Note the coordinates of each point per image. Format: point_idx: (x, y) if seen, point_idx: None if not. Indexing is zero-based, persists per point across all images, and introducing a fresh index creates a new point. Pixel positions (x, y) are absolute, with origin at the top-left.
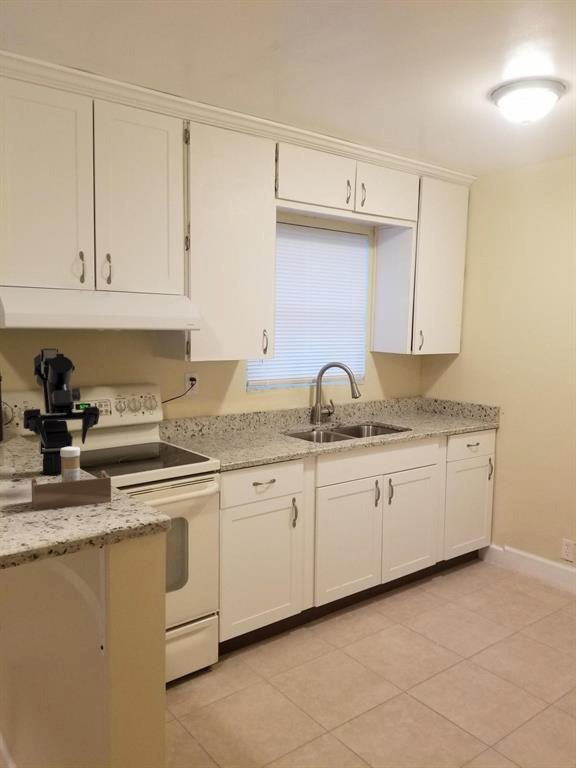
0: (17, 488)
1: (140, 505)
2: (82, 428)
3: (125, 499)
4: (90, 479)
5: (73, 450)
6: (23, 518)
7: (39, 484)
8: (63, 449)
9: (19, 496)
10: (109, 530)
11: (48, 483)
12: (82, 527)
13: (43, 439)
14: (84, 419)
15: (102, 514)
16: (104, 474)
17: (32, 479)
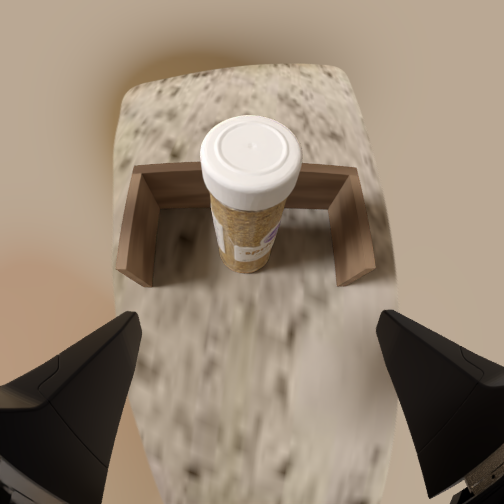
0: (370, 438)
1: (116, 155)
2: (83, 424)
3: (119, 206)
4: (192, 166)
5: (241, 117)
6: (350, 163)
7: (344, 172)
8: (288, 132)
9: (373, 353)
10: (215, 71)
11: (320, 171)
12: (249, 88)
13: (416, 324)
14: (2, 404)
15: (200, 127)
16: (133, 212)
17: (370, 240)
